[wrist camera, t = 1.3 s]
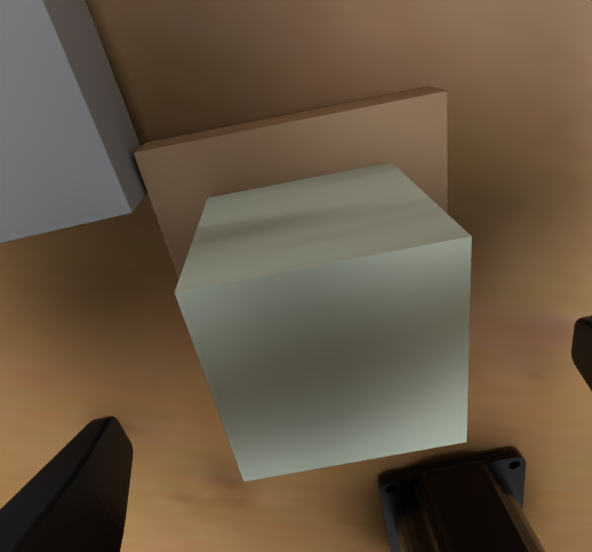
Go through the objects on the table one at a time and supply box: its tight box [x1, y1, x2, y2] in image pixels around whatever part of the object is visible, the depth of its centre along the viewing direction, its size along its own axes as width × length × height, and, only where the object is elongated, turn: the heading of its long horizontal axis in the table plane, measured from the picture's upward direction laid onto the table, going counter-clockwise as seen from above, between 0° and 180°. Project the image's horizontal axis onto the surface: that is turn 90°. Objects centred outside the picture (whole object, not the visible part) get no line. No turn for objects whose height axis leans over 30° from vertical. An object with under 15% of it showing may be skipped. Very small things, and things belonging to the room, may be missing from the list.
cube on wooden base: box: [134, 86, 472, 482], centre depth 11 cm, size 8×8×6 cm
